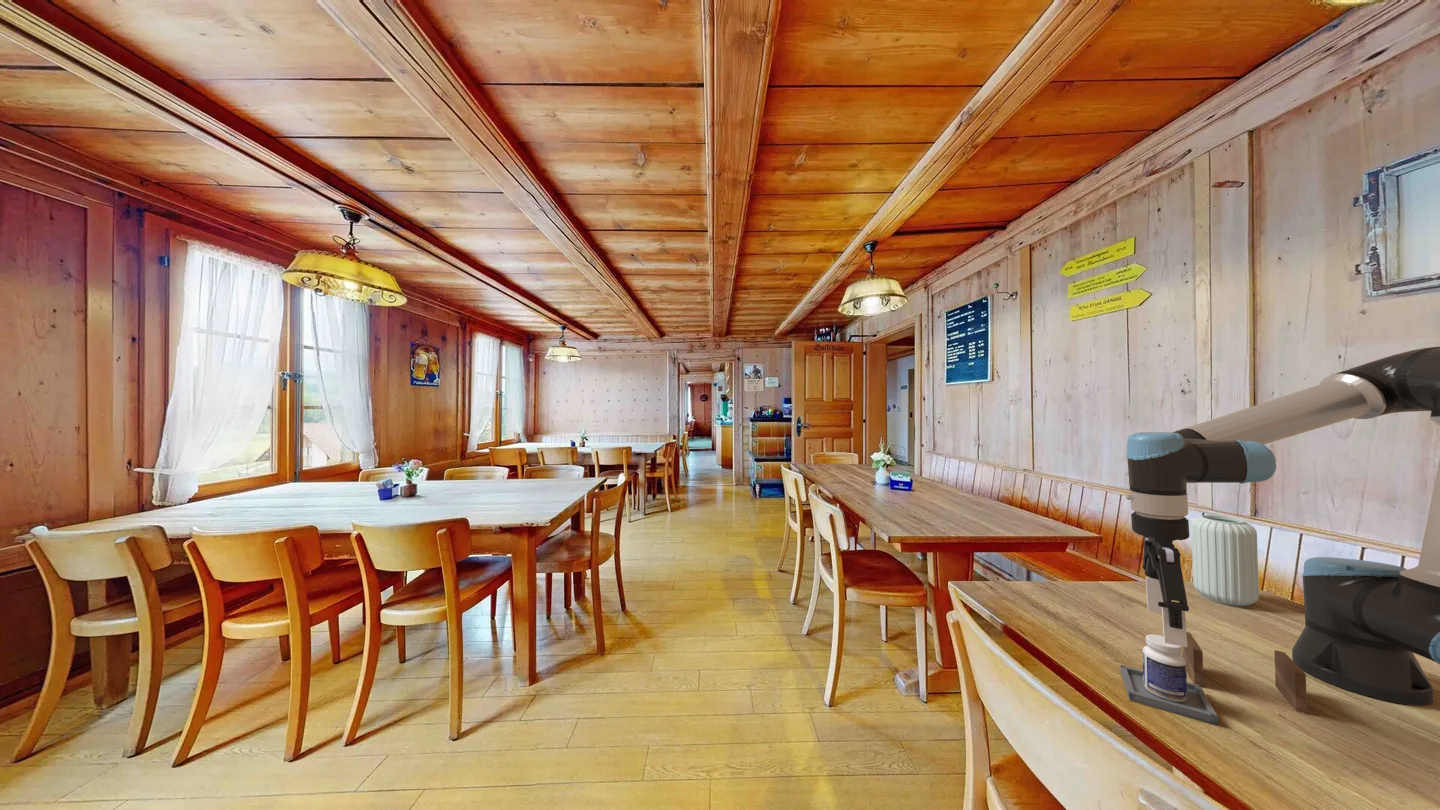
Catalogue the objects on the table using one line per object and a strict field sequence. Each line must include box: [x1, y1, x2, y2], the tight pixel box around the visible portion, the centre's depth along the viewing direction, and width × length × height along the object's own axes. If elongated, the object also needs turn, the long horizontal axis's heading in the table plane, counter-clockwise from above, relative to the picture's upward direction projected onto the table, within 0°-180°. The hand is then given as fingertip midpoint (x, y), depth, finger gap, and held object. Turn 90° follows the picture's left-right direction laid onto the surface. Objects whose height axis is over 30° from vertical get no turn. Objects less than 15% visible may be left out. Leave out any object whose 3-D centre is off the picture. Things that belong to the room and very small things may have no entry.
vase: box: [1190, 514, 1260, 607], centre depth 115 cm, size 12×12×22 cm
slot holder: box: [1182, 631, 1308, 714], centre depth 81 cm, size 13×8×7 cm, turn 53°
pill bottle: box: [1142, 633, 1188, 702], centre depth 79 cm, size 6×6×10 cm
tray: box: [1120, 664, 1219, 727], centre depth 79 cm, size 11×10×2 cm
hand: (1165, 626), depth 79 cm, fingers open, 13 cm apart
